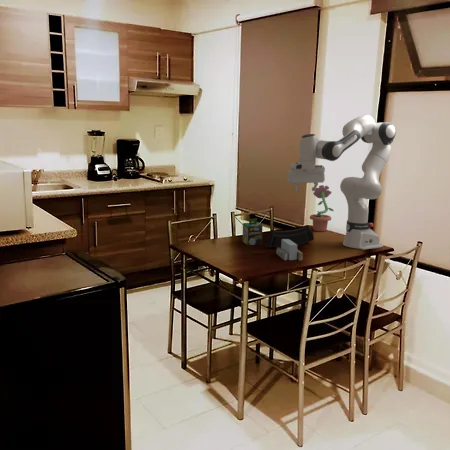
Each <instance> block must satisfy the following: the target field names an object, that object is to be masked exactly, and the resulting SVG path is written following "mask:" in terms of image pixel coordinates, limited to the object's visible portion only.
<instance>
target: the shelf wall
mask: <svg viewBox="0 0 450 450" xmlns="http://www.w3.org/2000/svg"><path fill="white" fill-rule="evenodd" d="M303 257H304V253H303V252H302V251H300V250H299V249H298V248H297V260H298V261H299V262H300V261H301V262H302V261H303V259H304V258H303Z"/></svg>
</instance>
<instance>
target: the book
mask: <svg viewBox="0 0 450 450" xmlns="http://www.w3.org/2000/svg"><path fill="white" fill-rule="evenodd" d="M280 248H281V249H282V250H283V251H285V252H286V253H287V254H288V255H287V261H288V260H289V261H297V260H298V259H297V249H298V246H297V244H295V243H294V242H292V241H291V240H289V239H282V243H281V247H280Z"/></svg>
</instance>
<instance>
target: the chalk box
mask: <svg viewBox="0 0 450 450" xmlns="http://www.w3.org/2000/svg"><path fill="white" fill-rule="evenodd" d="M242 243H244V244H245V245H246V246H260V245H263V225H262V224H261V223H260V222H258V218H249V221H248V222H243V223H242Z"/></svg>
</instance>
